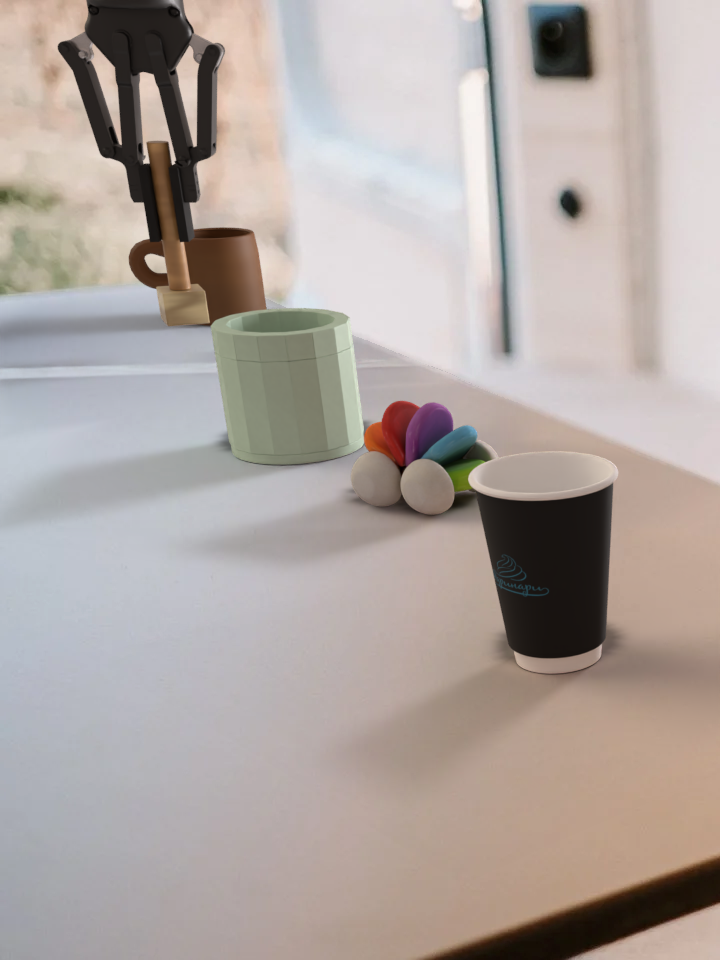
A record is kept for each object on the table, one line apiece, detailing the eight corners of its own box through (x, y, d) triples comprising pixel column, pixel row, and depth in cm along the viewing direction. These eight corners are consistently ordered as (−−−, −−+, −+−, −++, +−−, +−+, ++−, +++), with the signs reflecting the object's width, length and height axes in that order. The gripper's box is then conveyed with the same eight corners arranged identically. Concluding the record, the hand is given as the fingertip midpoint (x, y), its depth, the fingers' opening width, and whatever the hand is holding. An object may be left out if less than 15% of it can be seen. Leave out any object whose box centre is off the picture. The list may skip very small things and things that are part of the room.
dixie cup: (474, 686, 88) (454, 494, 83) (500, 629, 95) (482, 450, 91) (621, 684, 88) (609, 494, 84) (636, 628, 96) (625, 450, 91)
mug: (144, 340, 159) (126, 243, 155) (138, 325, 165) (121, 231, 161) (273, 330, 164) (260, 236, 160) (263, 315, 170) (250, 225, 167)
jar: (221, 467, 122) (199, 337, 118) (243, 432, 131) (224, 309, 127) (357, 462, 124) (340, 333, 120) (370, 427, 133) (355, 306, 129)
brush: (167, 326, 147) (138, 144, 140) (161, 318, 150) (132, 140, 143) (209, 323, 149) (183, 143, 142) (202, 315, 151) (176, 138, 145)
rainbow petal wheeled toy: (413, 474, 122) (402, 380, 119) (521, 491, 119) (513, 395, 116) (336, 507, 114) (322, 407, 112) (449, 526, 111) (438, 424, 109)
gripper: (19, -45, 132) (72, 247, 141) (214, -38, 135) (253, 246, 144) (45, -46, 139) (94, 232, 148) (230, -40, 142) (266, 232, 151)
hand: (172, 239), depth 146 cm, fingers closed on brush, 2 cm apart
